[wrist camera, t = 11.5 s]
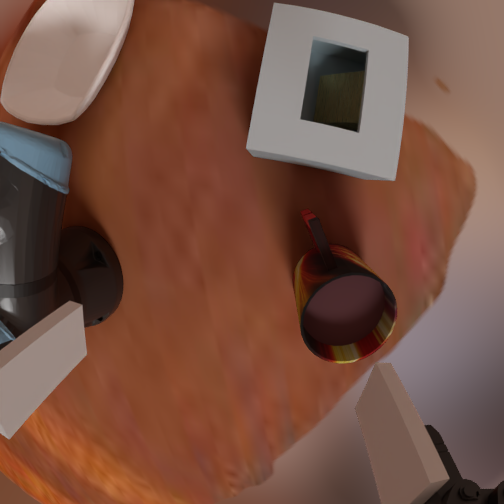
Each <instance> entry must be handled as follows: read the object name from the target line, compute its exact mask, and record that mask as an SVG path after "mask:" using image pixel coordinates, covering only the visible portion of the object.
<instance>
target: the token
mask: <svg viewBox="0 0 504 504" xmlns="http://www.w3.org/2000/svg"><path fill="white" fill-rule="evenodd" d="M364 74H365V71H358V72H348V73H339V74H331V75H324V76H320V80H319V87H318V94H317V100H316V106H315V113H314V119H313V122H316V123H320V124H325V125H329V126H333V127H338V128H342V129H346V130H358V123H359V116H360V108H361V101H362V92H363V84H364Z"/></svg>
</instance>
